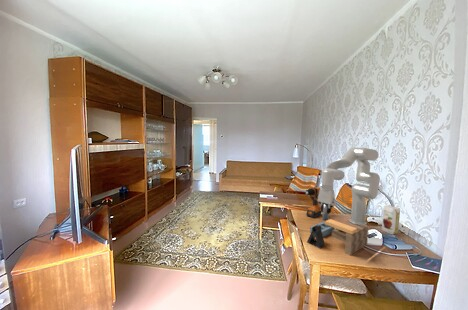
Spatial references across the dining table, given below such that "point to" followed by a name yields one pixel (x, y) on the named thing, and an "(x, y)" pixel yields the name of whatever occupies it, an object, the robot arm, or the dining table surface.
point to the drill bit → (325, 212)
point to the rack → (324, 229)
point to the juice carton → (390, 219)
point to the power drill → (315, 209)
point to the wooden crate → (352, 238)
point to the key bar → (341, 226)
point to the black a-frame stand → (319, 237)
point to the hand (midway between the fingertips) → (325, 211)
